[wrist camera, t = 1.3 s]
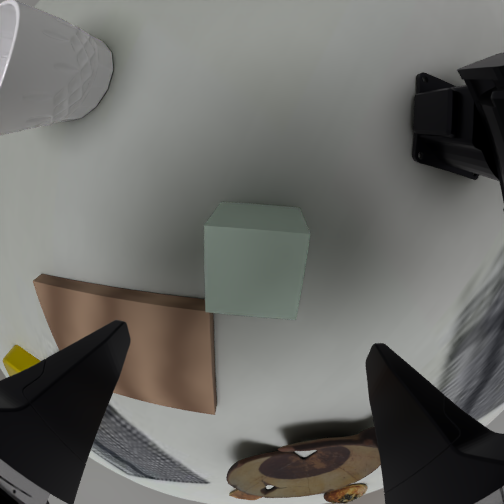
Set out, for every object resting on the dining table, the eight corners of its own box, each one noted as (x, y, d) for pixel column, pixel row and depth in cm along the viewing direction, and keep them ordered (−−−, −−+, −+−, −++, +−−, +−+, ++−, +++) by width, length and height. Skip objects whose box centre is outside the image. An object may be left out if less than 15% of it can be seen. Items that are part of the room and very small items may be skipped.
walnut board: (213, 300, 20) (209, 311, 19) (216, 404, 26) (214, 414, 24) (41, 273, 21) (32, 280, 19) (79, 370, 26) (74, 378, 25)
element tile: (86, 385, 28) (72, 410, 24) (96, 426, 34) (88, 446, 30) (13, 338, 27) (-3, 357, 23) (33, 389, 33) (22, 405, 29)
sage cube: (299, 207, 17) (310, 234, 13) (290, 276, 19) (295, 319, 15) (221, 201, 17) (203, 225, 13) (220, 270, 19) (205, 312, 15)
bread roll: (313, 495, 44) (317, 511, 39) (342, 478, 41) (347, 495, 36) (346, 493, 45) (350, 507, 41) (375, 475, 42) (380, 490, 38)
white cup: (81, 147, 16) (-27, 174, 7) (33, 101, 14) (-58, 110, 5) (142, 56, 13) (41, 13, 4) (83, 21, 11) (-5, -8, 2)
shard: (243, 482, 40) (242, 489, 38) (277, 485, 40) (277, 492, 39) (228, 491, 44) (227, 497, 42) (258, 495, 45) (258, 501, 43)
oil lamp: (194, 442, 31) (185, 486, 24) (409, 370, 23) (432, 426, 16) (274, 481, 38) (273, 513, 31) (427, 431, 30) (439, 465, 23)
